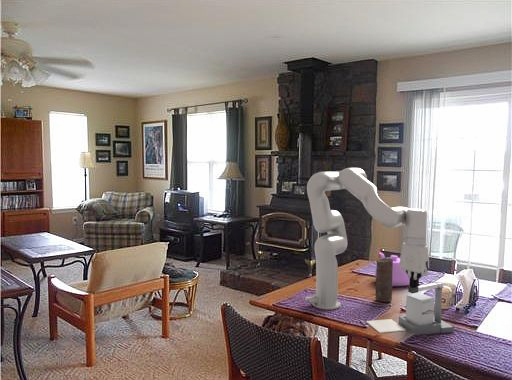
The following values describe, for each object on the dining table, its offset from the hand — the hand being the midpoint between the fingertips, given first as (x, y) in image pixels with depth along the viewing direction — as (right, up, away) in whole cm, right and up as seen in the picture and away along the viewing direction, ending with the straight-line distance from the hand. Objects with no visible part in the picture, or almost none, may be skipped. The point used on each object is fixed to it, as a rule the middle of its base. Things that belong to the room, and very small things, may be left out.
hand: (413, 288), depth 156 cm
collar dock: (+5, -16, +2) cm, 17 cm away
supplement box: (+3, -16, +2) cm, 16 cm away
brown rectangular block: (-1, -14, +33) cm, 35 cm away
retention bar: (+4, 0, 0) cm, 5 cm away
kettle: (+12, -12, +61) cm, 63 cm away
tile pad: (-10, -16, +3) cm, 19 cm away
